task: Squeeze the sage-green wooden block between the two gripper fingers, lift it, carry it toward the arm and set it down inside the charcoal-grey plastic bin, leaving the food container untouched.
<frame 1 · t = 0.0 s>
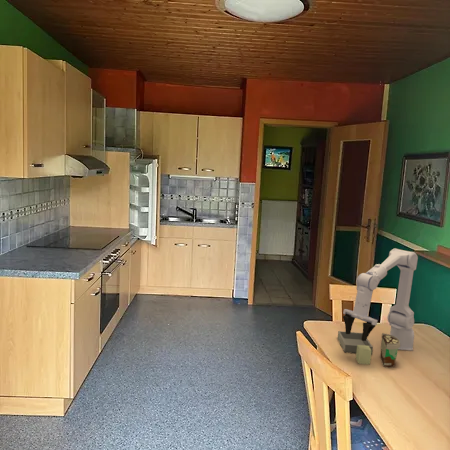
hand: (355, 337, 171), 11 cm above the table, tool pointing down, fingers open, 7 cm apart
food container: (389, 363, 174), on the table
block: (362, 361, 173), on the table
bin: (354, 346, 188), on the table
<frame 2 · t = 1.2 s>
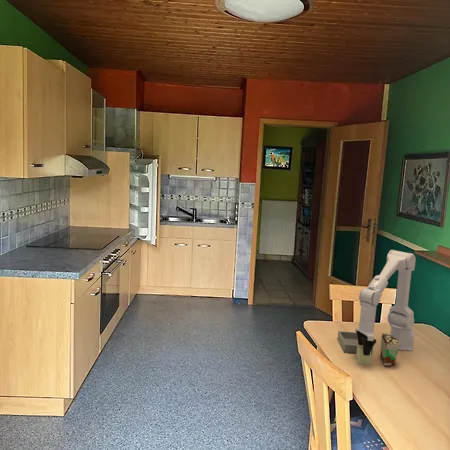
hand: (363, 351, 173), 4 cm above the table, tool pointing down, fingers open, 7 cm apart
nothing on the table moved.
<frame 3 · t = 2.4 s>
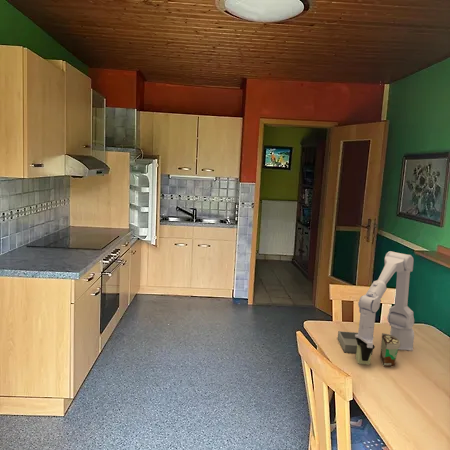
hand: (363, 357, 173), 2 cm above the table, tool pointing down, fingers closed on block, 4 cm apart
block: (362, 361, 173), on the table, touching gripper
everything else where it was.
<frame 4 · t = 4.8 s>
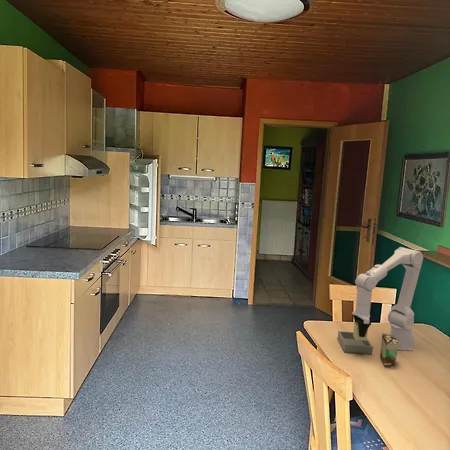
hand: (360, 334, 180), 8 cm above the table, tool pointing down, fingers closed on block, 4 cm apart
block: (359, 338, 180), point 7 cm above the table, touching gripper
everything else where it was.
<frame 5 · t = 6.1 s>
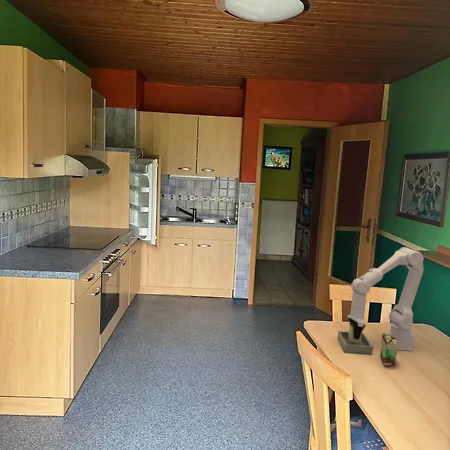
hand: (355, 336, 188), 4 cm above the table, tool pointing down, fingers closed on block, 4 cm apart
block: (354, 340, 188), point 3 cm above the table, touching gripper
everything else where it was.
when the fingers open (3 cm above the table, at t = 7.2 s): block drops 1 cm, resting on bin.
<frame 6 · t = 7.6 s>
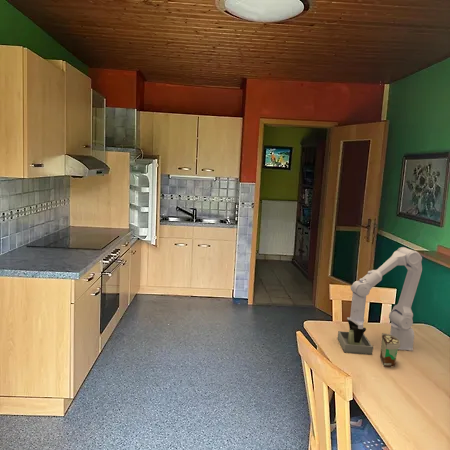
hand: (354, 338, 188), 3 cm above the table, tool pointing down, fingers open, 7 cm apart
block: (354, 345, 188), point 1 cm above the table, touching bin
everything else where it was.
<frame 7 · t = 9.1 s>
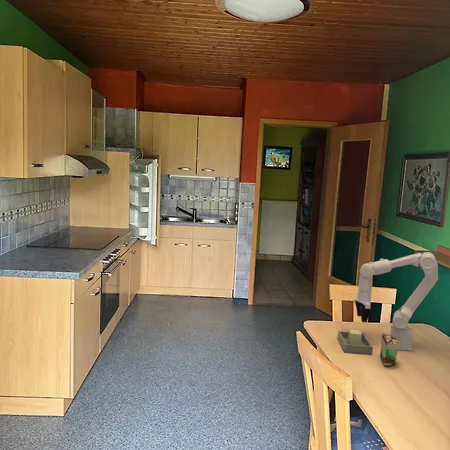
hand: (361, 319, 196), 9 cm above the table, tool pointing down, fingers open, 7 cm apart
nothing on the table moved.
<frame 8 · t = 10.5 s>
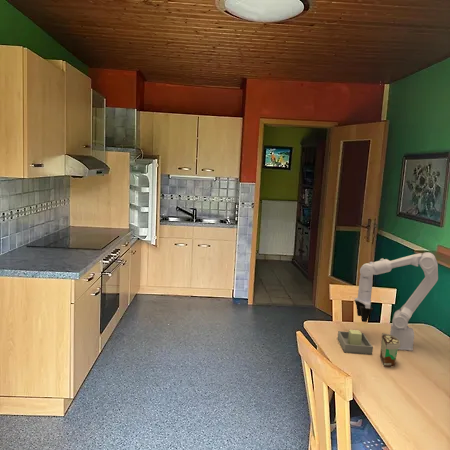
hand: (362, 318, 197), 9 cm above the table, tool pointing down, fingers open, 7 cm apart
nothing on the table moved.
at the end: block inside the target area on the bin (0.1 cm from its centre), point 0.6 cm above the bin's base; block tilted 0°; the gripper is holding nothing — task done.
